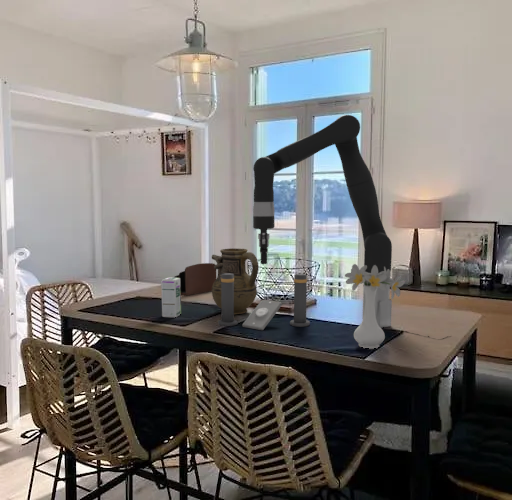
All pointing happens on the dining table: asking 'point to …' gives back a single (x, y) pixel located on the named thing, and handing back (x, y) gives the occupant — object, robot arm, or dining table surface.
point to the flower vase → (371, 302)
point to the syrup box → (171, 297)
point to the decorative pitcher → (236, 277)
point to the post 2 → (300, 301)
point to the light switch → (262, 314)
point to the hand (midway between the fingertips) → (263, 263)
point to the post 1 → (227, 300)
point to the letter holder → (197, 278)
